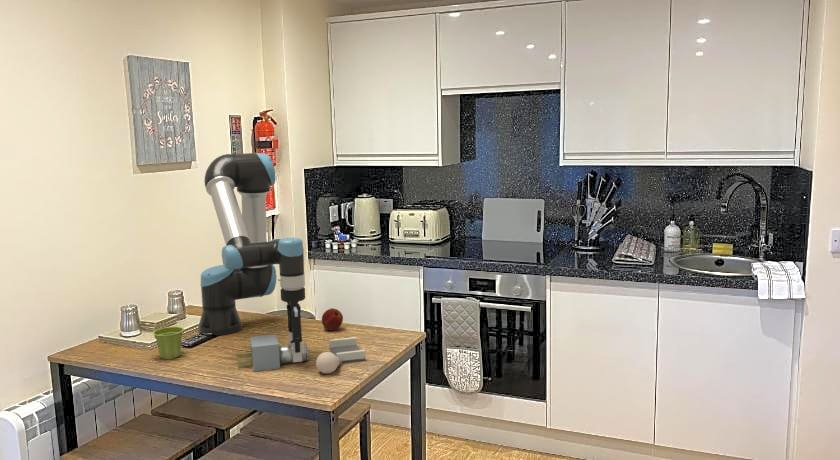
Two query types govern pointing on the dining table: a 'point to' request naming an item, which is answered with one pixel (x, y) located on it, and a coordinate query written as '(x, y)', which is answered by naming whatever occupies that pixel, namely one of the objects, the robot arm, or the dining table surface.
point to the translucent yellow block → (245, 360)
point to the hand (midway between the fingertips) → (295, 356)
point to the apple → (332, 319)
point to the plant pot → (169, 341)
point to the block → (265, 352)
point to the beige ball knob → (327, 362)
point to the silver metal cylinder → (291, 353)
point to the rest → (347, 350)
